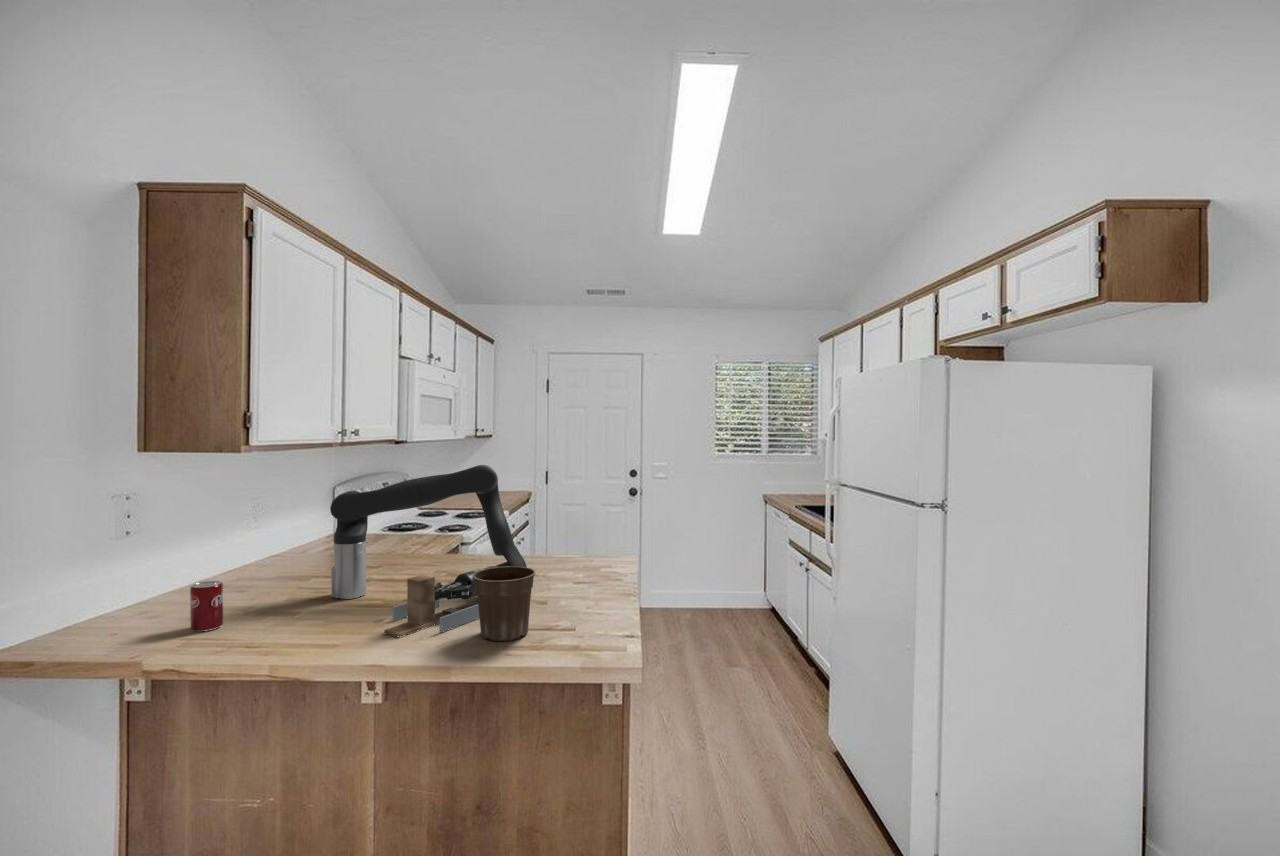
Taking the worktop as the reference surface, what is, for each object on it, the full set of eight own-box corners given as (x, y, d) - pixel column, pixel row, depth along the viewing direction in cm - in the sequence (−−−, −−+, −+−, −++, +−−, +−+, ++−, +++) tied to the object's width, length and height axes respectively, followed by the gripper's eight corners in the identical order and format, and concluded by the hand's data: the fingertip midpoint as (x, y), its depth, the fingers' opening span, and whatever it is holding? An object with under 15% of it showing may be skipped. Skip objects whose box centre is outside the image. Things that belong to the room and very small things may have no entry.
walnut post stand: (421, 620, 172) (420, 574, 172) (436, 624, 169) (436, 577, 169) (384, 633, 161) (384, 584, 161) (399, 637, 158) (399, 587, 158)
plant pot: (468, 628, 166) (468, 568, 166) (527, 620, 172) (527, 563, 172) (477, 648, 151) (477, 583, 151) (542, 639, 157) (542, 576, 157)
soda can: (188, 634, 161) (187, 588, 161) (193, 626, 167) (192, 582, 167) (221, 630, 164) (221, 585, 164) (225, 622, 171) (224, 579, 170)
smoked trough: (437, 606, 185) (437, 593, 185) (484, 616, 176) (484, 602, 176) (392, 621, 172) (392, 606, 171) (441, 633, 162) (441, 618, 162)
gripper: (458, 568, 189) (412, 581, 173) (490, 573, 182) (445, 587, 167) (458, 592, 189) (412, 607, 174) (490, 598, 182) (445, 615, 167)
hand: (428, 597), depth 170 cm, fingers closed
